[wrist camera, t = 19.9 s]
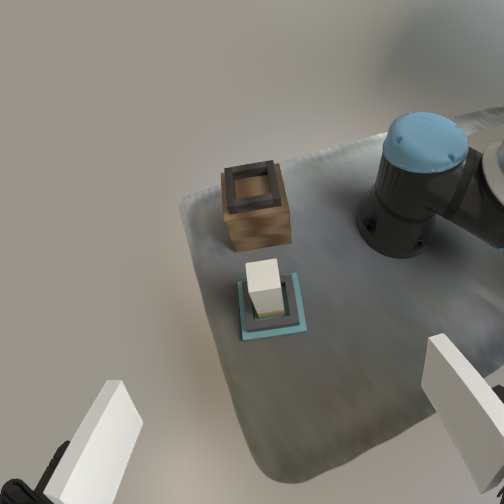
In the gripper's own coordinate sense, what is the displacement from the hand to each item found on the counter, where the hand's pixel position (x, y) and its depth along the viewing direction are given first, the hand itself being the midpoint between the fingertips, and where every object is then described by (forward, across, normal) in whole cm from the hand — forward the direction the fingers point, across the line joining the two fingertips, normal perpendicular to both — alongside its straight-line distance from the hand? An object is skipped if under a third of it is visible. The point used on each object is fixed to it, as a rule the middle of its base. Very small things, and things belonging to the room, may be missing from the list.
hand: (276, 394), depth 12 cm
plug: (+36, -1, -14) cm, 38 cm away
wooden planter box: (+48, -1, -3) cm, 48 cm away
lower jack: (+36, -1, -14) cm, 39 cm away
